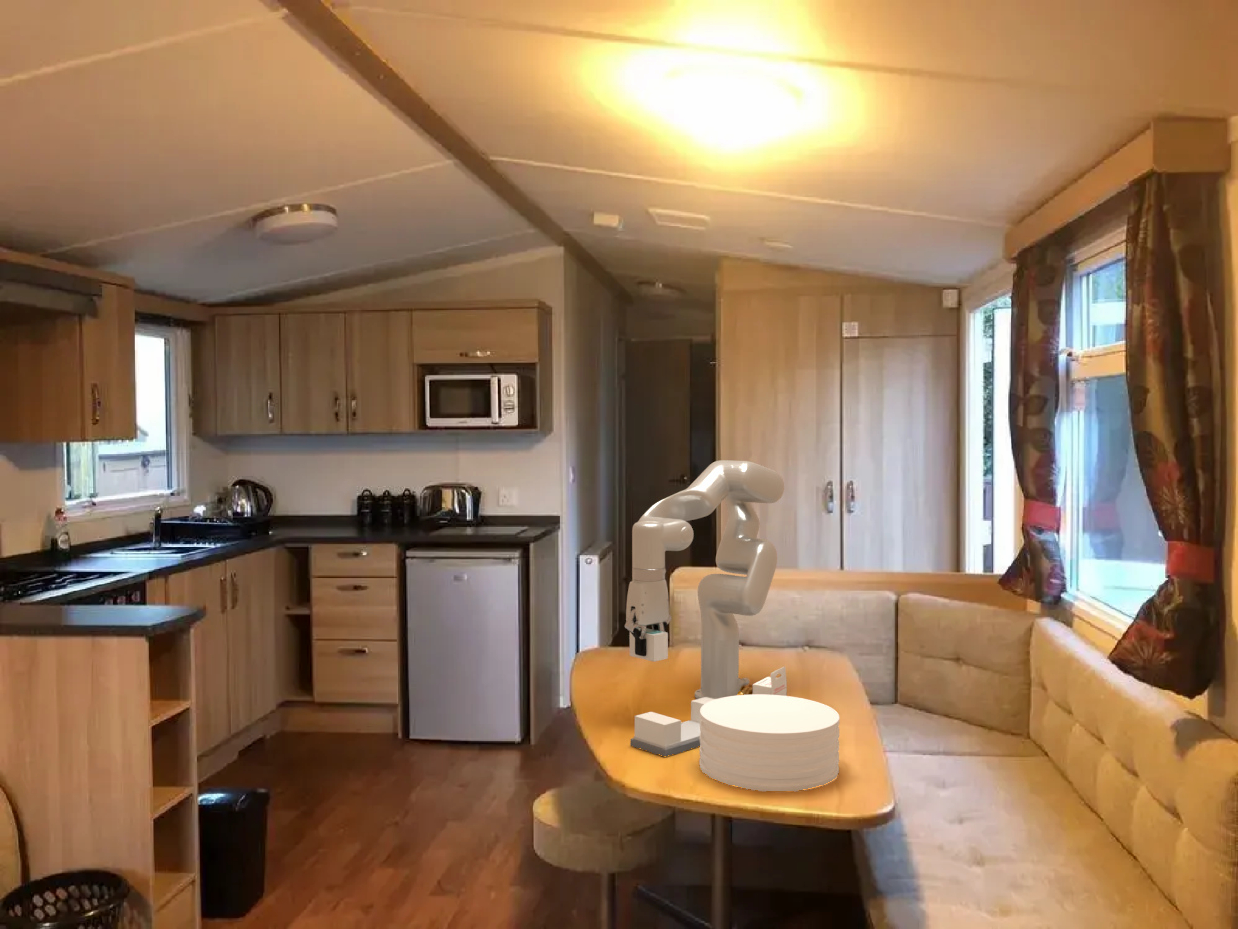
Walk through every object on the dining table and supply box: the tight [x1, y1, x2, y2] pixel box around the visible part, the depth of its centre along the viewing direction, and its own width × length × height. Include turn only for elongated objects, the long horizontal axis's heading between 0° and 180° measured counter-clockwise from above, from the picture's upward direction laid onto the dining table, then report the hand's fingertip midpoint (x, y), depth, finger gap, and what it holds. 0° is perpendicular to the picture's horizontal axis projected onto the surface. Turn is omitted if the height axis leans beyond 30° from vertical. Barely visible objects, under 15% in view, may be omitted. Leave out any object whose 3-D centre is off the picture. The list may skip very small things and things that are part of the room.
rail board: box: [629, 697, 715, 757], centre depth 225 cm, size 24×10×7 cm, turn 133°
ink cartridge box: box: [752, 665, 788, 696], centre depth 231 cm, size 9×5×15 cm, turn 148°
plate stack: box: [699, 693, 840, 792], centre depth 208 cm, size 28×28×12 cm
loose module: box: [629, 627, 669, 662], centre depth 236 cm, size 4×8×6 cm, turn 43°
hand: (648, 652), depth 236 cm, fingers closed on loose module, 4 cm apart
